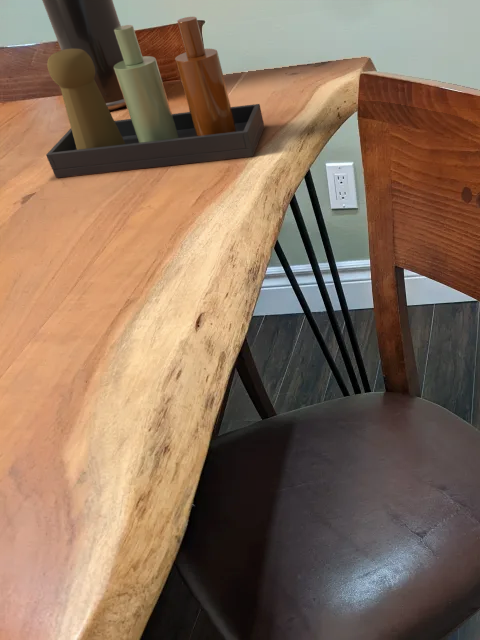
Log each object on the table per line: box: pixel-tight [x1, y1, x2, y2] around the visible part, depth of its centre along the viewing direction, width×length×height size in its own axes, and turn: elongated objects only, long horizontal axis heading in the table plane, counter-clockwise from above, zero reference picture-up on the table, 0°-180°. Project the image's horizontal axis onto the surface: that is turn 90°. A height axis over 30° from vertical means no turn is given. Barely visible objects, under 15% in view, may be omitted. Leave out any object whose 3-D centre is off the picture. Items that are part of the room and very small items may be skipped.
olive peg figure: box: [46, 49, 125, 150], centre depth 84 cm, size 6×6×11 cm
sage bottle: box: [113, 24, 179, 143], centre depth 83 cm, size 5×5×12 cm
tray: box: [45, 103, 265, 179], centre depth 87 cm, size 25×10×3 cm, turn 89°
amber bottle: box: [174, 16, 237, 136], centre depth 82 cm, size 5×5×12 cm
